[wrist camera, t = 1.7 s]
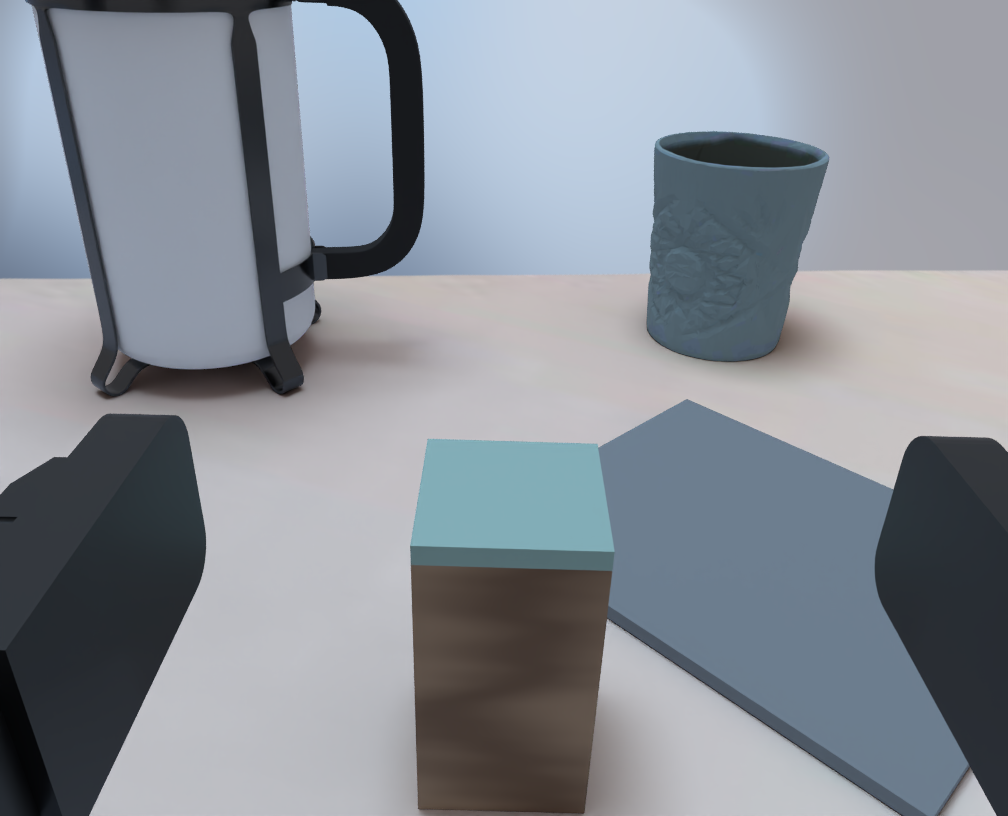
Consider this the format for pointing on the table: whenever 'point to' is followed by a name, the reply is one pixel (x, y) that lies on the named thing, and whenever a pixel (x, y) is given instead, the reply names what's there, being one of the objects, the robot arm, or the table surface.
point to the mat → (774, 596)
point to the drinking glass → (727, 239)
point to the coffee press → (209, 176)
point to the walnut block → (508, 623)
